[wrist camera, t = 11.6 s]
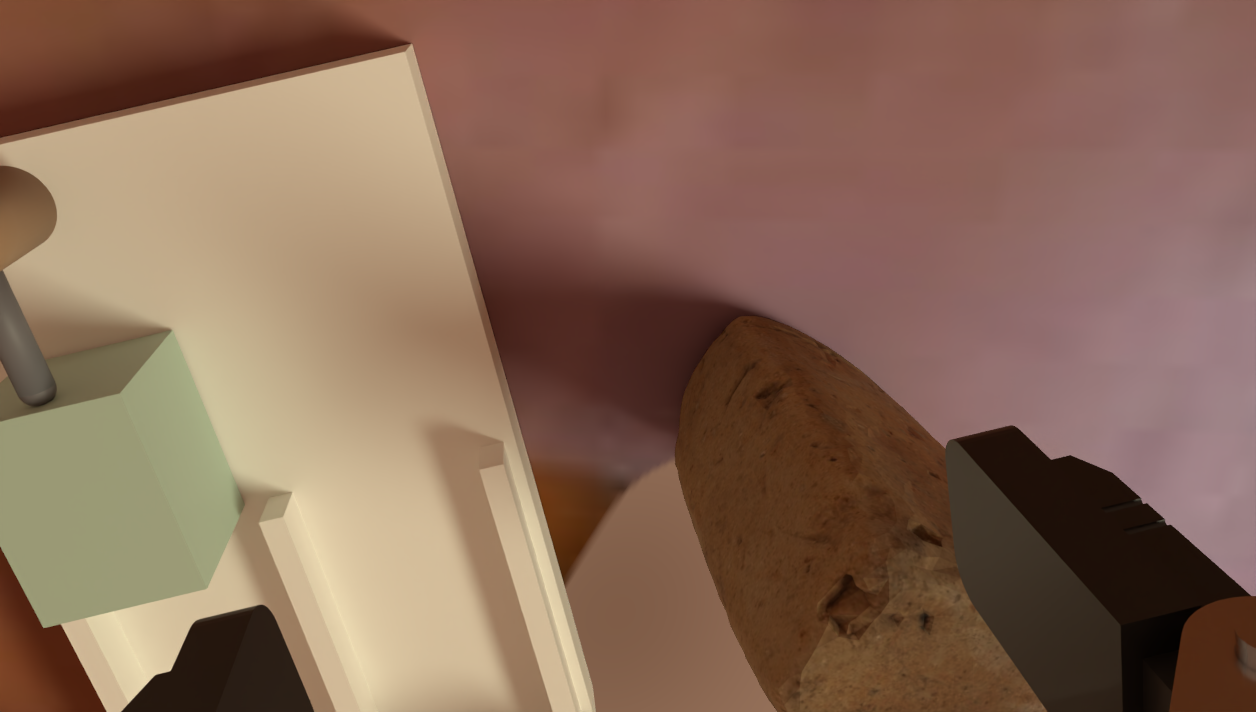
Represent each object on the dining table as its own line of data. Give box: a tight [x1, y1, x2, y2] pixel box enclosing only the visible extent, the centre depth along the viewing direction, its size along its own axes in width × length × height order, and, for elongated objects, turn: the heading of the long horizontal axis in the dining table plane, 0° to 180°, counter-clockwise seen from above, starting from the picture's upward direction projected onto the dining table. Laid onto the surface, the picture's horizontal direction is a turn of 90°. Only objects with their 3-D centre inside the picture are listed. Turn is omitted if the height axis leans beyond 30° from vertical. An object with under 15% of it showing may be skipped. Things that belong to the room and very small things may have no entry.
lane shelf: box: [0, 44, 596, 712], centre depth 42 cm, size 32×20×8 cm, turn 12°
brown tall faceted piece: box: [675, 316, 1047, 712], centre depth 39 cm, size 11×8×20 cm
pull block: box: [0, 166, 245, 628], centre depth 36 cm, size 16×6×10 cm, turn 12°
